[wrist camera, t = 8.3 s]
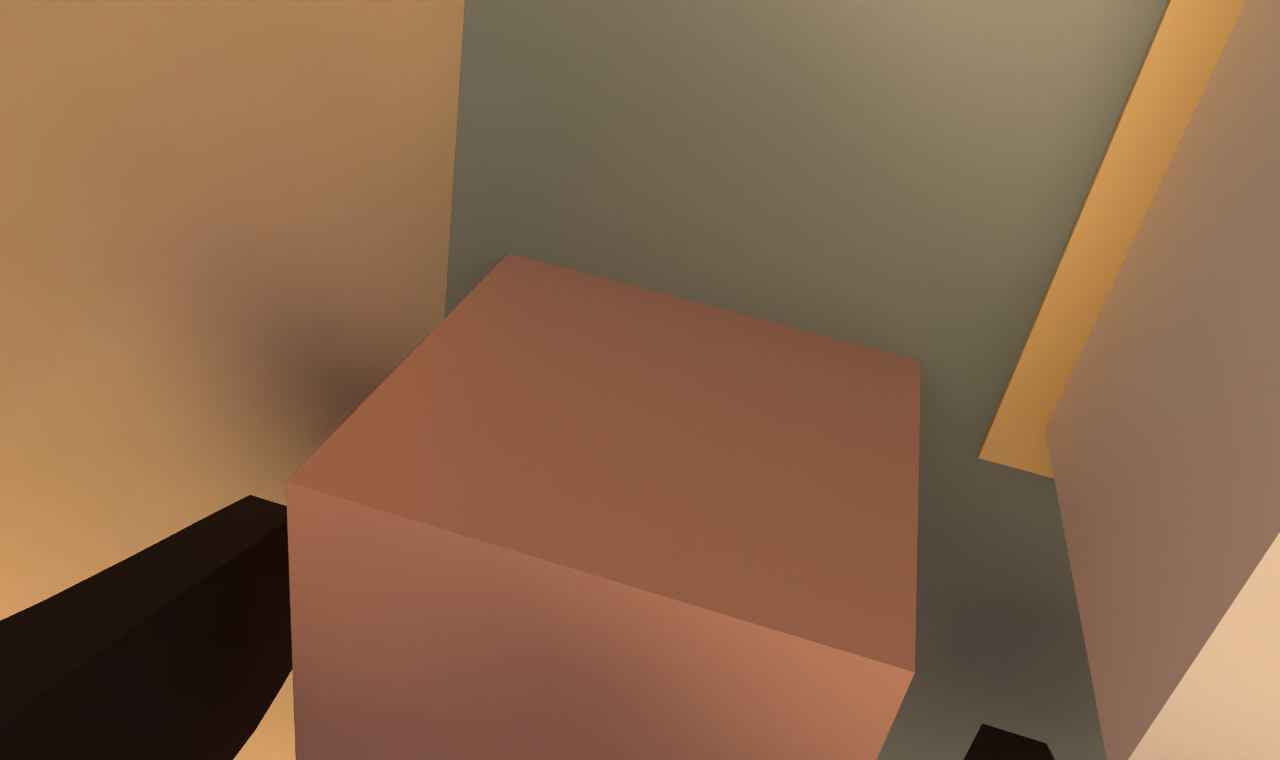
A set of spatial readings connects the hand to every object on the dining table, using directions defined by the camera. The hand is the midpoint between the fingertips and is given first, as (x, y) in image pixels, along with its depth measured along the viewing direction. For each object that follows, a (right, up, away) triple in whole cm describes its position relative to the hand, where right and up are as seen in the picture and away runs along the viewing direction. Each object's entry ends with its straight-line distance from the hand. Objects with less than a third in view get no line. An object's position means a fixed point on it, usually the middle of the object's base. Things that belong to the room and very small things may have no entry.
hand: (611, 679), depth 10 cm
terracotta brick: (0, +1, +2) cm, 3 cm away
